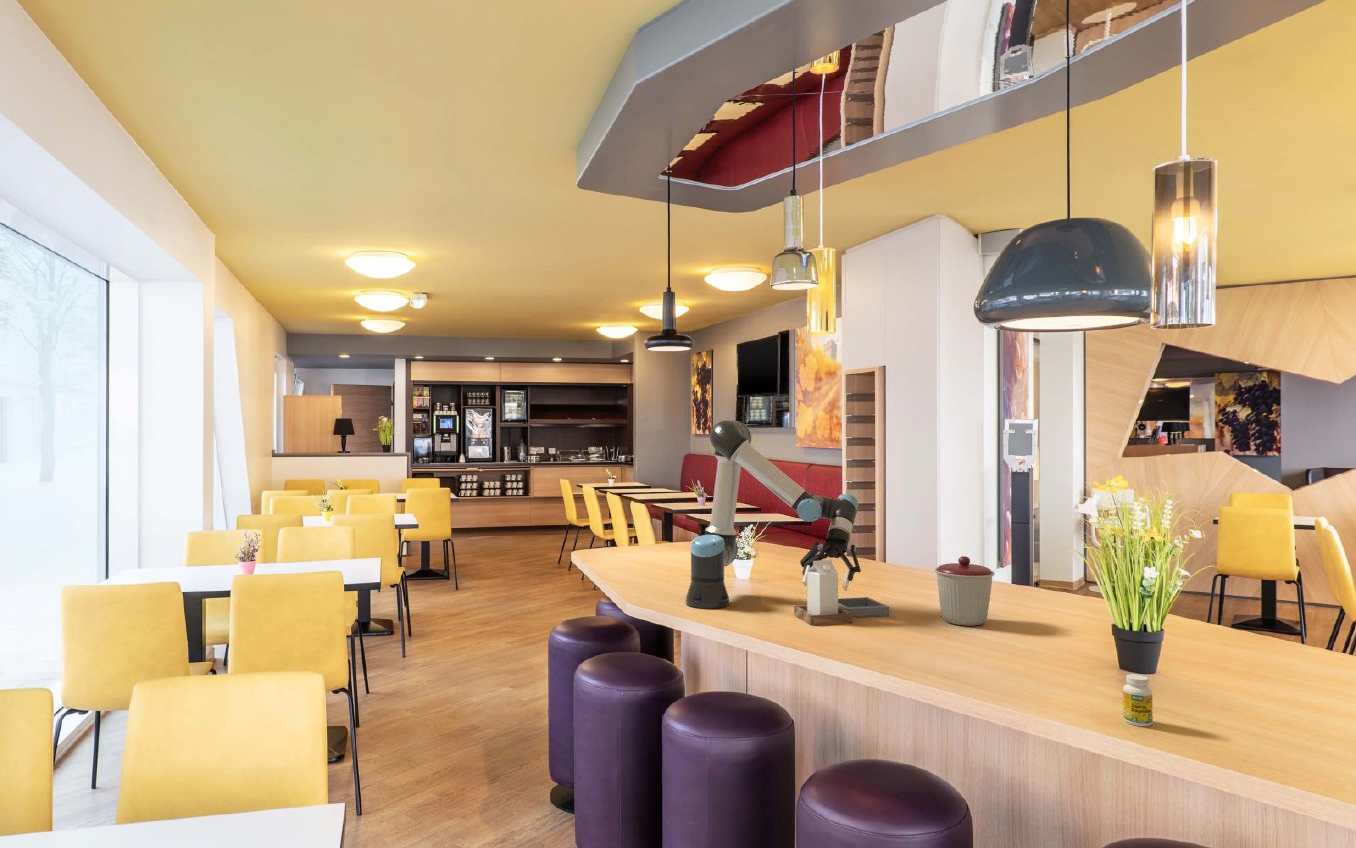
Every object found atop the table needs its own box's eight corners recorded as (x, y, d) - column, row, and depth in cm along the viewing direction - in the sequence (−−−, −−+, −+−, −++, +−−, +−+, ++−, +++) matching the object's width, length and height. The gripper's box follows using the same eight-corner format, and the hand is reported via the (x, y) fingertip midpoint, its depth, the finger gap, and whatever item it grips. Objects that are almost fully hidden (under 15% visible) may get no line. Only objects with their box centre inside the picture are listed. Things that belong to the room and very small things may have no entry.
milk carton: (807, 617, 259) (807, 559, 259) (825, 615, 262) (825, 558, 262) (819, 622, 252) (820, 562, 252) (838, 620, 255) (838, 561, 255)
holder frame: (794, 615, 262) (794, 606, 262) (833, 613, 266) (833, 604, 266) (811, 625, 249) (811, 615, 249) (852, 623, 252) (852, 613, 252)
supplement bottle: (1146, 718, 170) (1146, 673, 170) (1157, 728, 164) (1157, 681, 164) (1118, 717, 170) (1119, 672, 171) (1129, 726, 165) (1129, 680, 165)
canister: (985, 616, 262) (985, 552, 262) (1002, 630, 244) (1002, 561, 244) (928, 615, 263) (929, 551, 264) (941, 628, 245) (941, 560, 246)
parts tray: (828, 607, 273) (828, 599, 273) (867, 605, 277) (867, 597, 277) (847, 618, 259) (847, 608, 259) (889, 615, 262) (889, 606, 262)
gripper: (877, 543, 266) (864, 596, 253) (807, 538, 278) (791, 588, 265) (873, 529, 261) (859, 582, 248) (801, 524, 274) (785, 575, 260)
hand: (824, 586), depth 257 cm, fingers open, 13 cm apart
